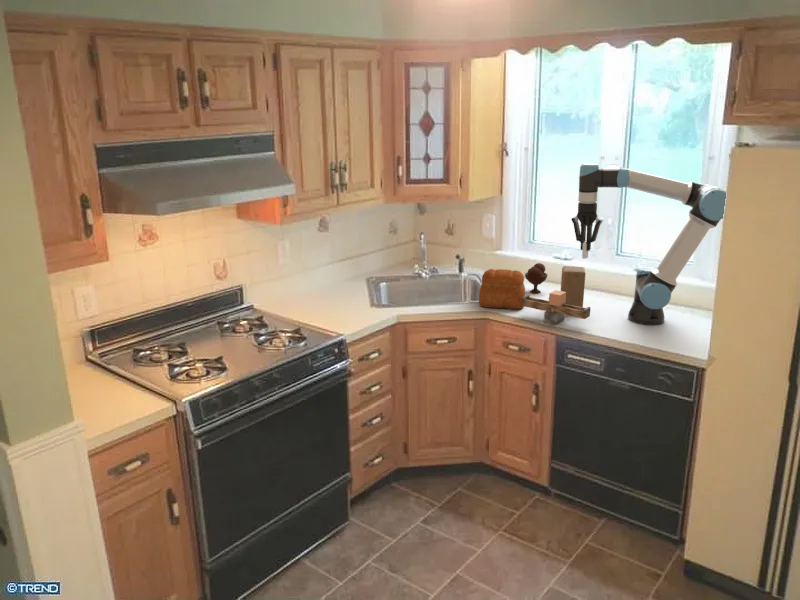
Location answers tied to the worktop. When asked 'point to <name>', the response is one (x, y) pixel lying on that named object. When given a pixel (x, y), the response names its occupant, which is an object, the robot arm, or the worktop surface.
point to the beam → (555, 310)
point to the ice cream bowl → (536, 276)
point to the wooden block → (573, 285)
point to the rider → (557, 298)
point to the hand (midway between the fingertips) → (585, 257)
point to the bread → (502, 289)
